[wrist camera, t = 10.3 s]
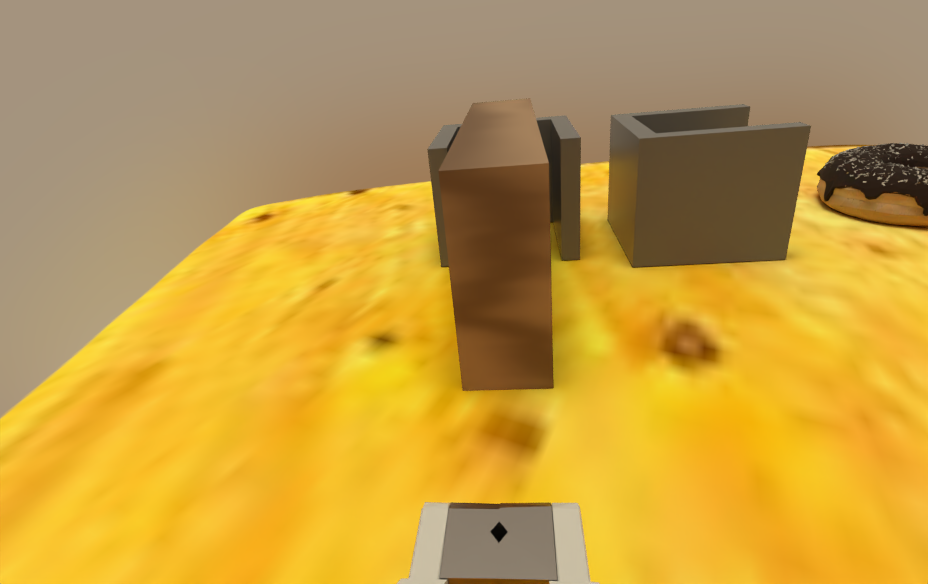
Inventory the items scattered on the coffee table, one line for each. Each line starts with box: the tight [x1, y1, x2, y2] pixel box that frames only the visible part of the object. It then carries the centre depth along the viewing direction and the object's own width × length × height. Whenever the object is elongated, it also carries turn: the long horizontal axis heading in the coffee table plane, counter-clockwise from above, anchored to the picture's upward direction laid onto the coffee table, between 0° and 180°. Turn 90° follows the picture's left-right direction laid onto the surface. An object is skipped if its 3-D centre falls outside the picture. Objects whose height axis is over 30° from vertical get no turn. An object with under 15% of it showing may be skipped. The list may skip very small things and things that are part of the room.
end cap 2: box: [608, 104, 811, 267], centre depth 36 cm, size 9×9×8 cm
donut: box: [817, 143, 928, 227], centre depth 39 cm, size 11×12×4 cm
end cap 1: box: [428, 116, 581, 267], centre depth 38 cm, size 9×9×8 cm
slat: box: [438, 98, 553, 391], centre depth 30 cm, size 4×20×10 cm, turn 175°
